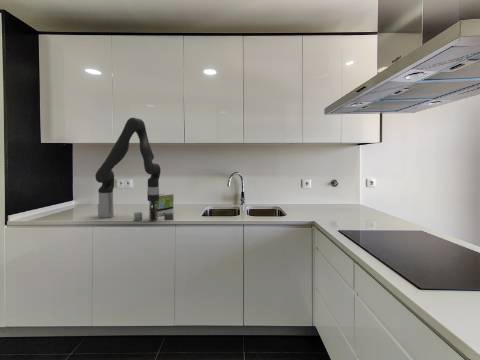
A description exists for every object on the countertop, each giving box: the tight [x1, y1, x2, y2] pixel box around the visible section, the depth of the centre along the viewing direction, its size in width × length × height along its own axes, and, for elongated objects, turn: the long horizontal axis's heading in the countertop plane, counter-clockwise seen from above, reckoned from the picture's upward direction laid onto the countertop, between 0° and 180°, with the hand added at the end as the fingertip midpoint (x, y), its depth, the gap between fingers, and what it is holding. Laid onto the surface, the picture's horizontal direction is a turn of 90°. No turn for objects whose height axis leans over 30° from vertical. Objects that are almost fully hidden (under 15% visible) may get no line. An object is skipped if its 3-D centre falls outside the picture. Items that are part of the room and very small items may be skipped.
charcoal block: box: [163, 213, 174, 221], centre depth 203 cm, size 5×5×4 cm
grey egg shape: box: [133, 211, 143, 222], centre depth 200 cm, size 5×5×5 cm
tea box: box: [148, 192, 175, 217], centre depth 221 cm, size 15×10×15 cm, turn 149°
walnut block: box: [149, 210, 159, 222], centre depth 201 cm, size 4×4×6 cm
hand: (153, 218), depth 201 cm, fingers closed on walnut block, 4 cm apart
